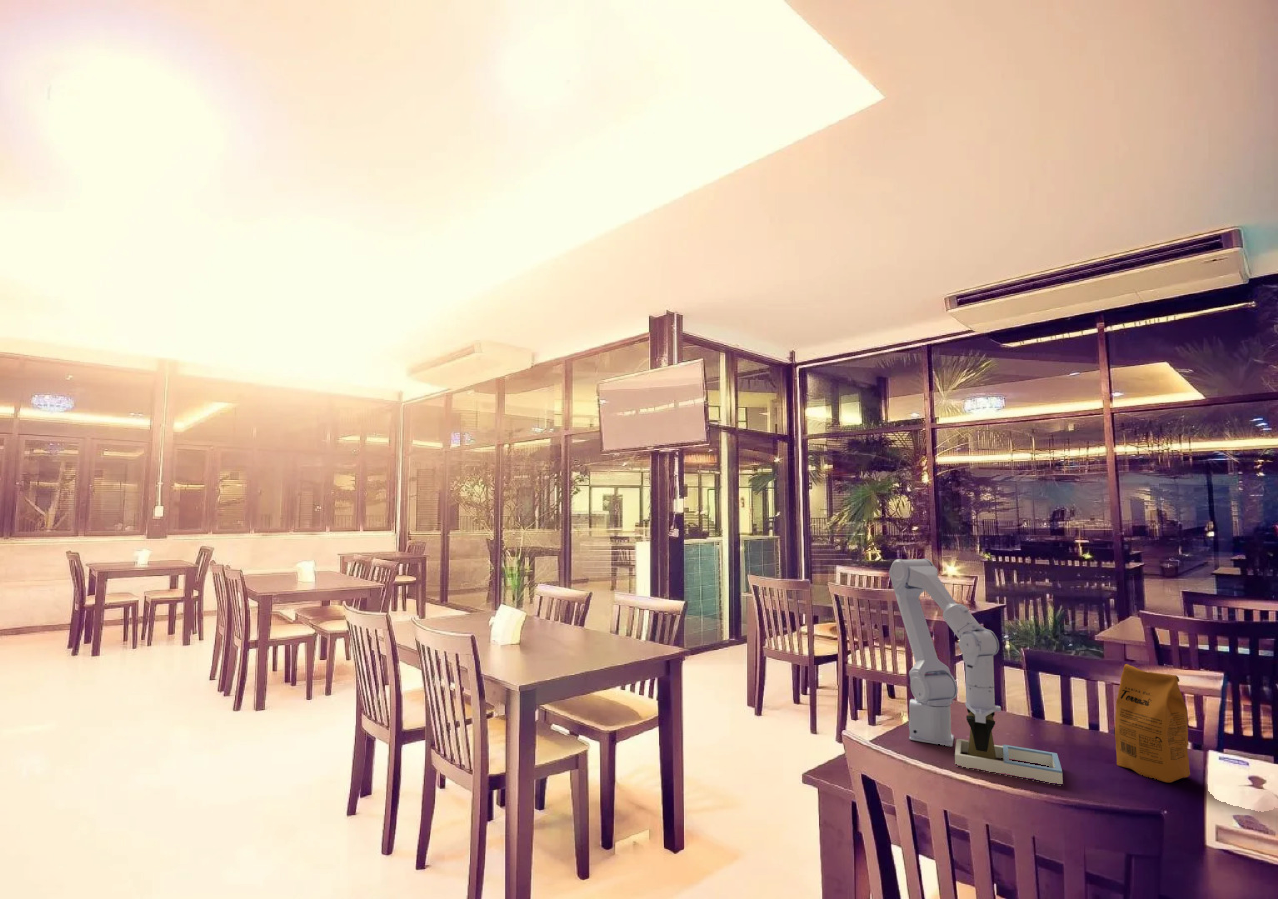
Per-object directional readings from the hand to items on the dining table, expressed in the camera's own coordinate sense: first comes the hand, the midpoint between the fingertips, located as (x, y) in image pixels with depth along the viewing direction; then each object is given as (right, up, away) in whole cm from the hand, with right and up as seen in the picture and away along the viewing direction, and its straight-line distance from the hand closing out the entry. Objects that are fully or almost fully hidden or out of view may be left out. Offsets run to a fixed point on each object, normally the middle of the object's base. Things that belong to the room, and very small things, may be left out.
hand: (981, 746), depth 145 cm
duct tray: (+4, -3, -2) cm, 6 cm away
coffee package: (+35, -4, -4) cm, 35 cm away
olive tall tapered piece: (0, -4, 0) cm, 4 cm away
